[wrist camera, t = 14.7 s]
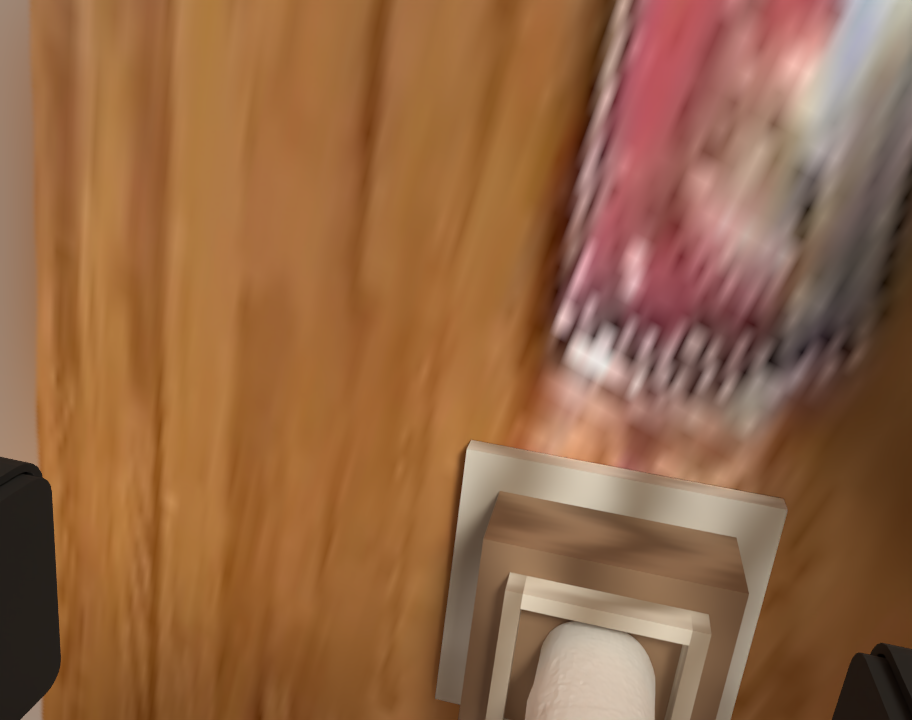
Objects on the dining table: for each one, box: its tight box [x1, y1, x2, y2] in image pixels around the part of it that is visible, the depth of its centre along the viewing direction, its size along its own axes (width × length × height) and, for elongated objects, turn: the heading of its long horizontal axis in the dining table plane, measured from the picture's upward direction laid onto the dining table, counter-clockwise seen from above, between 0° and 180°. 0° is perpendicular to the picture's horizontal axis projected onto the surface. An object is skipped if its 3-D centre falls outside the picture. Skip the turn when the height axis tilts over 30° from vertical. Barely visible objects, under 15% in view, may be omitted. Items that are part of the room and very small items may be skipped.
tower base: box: [435, 440, 788, 720], centre depth 42 cm, size 16×16×8 cm
